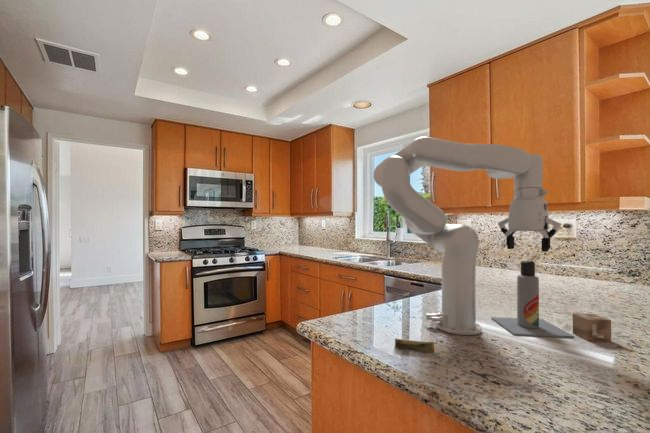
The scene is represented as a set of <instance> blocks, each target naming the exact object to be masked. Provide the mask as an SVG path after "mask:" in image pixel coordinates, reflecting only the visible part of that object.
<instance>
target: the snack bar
mask: <svg viewBox="0 0 650 433" xmlns="http://www.w3.org/2000/svg"><path fill="white" fill-rule="evenodd" d="M394 349H395V350H401V351H403V350H404V351H413V352H423V353H429V354H434V353H435V342H433V341H421V340H419V341H418V340H409V339H401V338H394Z"/></svg>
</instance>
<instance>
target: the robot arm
mask: <svg viewBox="0 0 650 433" xmlns="http://www.w3.org/2000/svg"><path fill="white" fill-rule="evenodd" d="M543 161H544V160H543V156H542V155H540V154H536V153H528V152H527V151H526V150H525V149H522V148H520V147H519V148H518V147H514V146H509V145H504V144H497V143H496V144H495V143H494V144H493V143H492V144H491V143H464V142H463V143H462V142H458V141H452V140H447V139H442V138H435V137H430V136H420V137H417V138H415V139H414V140H412V141H411V142H410V143H409V144H408V145H406V146H405V147H403V148H402V149H401V150H399V151H398V152H397V153H395V154H393V155H391V156H388V157H386V158H385V159H383V160H382V161H381V162H380V163H378V164H377V165H376V167H375V168H374V170H373V179H374V182H375V183H376V184H377V185H378V186H379V187H381V190H382V194H383V197H384V199H385V201H386V202H387V204H388V205H389V206H390V208H391V209H392V210H394V211H395V212H396V213H397V214H398V215H400V216H401V217H402V218H403V219H404V220H405V221H404V222H405V224H406V227H407V229H409V231H410V232H411V233H412V234H413V235H415V236H416V237H418V238H419V239H421V240H422V241H424V242H425V243H426V244H428V245H429V246H431V247H432V248H433V249H435V250H437V251H438V252H439V253H440V252H441V253H443V258H442V261H441V262H442V263H441V309H439V310H438V312H436V313H429V312H427V313H425V319H426V320H427V321H431V322H433V323H435V322H436V327H437V328H438V329H439V330H441V331H443V332H445V333H449V334H454V335H461V336H474V335H475V336H476V335H478V334H480V333H482V332H483V331H482V329H483V328H482V326H481V325H480V324H478V323H477V319H476V316H477V315H476V314H477V313H476V311H477V310H476V308H477V307H476V303H477V300H476V298H477V296H476V288H477V286H476V281H477V280H476V276H477V275H476V269H477V268H476V267H477V255H478V252H479V244H480V241H479V235H478V234H477V232H476V230H475V229H474V228H472V227H471V226H469V225H466V224H462V223H448V220H447V216H446V214H445V211H443V210H442V209H441V207H439V206H437V205H436V204H434V203H432V202H431V201H429V200H428V198H426V197H424V196H423V195H421V194H420V193H419V192H418V191H417V190H415V188H413V186H412V184H411V182H410V178H409V176H410V175H411V174H413V173H415V172H416V171H417V170H419V169H420V168H421V167H422V168H423V167H424V166H426V167H431V168H436V169H442V170H449V171H453V172H470V171H477V170H485V173H486V174H487V175H488V177H490V178H491V179H495V180H503V179H513V199H511V202H510V205H509V211H508V217H507V218H505V219H503V220H501V221H498V223H497V225H498V228H499V229H500V231H501V233H503V234H504V236H505V237H506V239H505V240H506V243H505V244H506V245H505V246H506V247H507V249H508V250H514V249H515V236H514V234H515V233H516V232H517V231H518V232H539V233H540V234H541V236H542V237H541V252H543V253H544V252H545V253H546V252H549V250H550V249H551V239H552V237H554V236H555V235H556V234H557V233H558V231H559V229H560V228H561V226H562V223H561V222H559V221H556V220H554V219H552V218H550V217H549V209H548V203H547V200H546V198H544V196H545V195H548V191H549V190H548V189H544V188H543V175H544V174H543V170H544V169H543V167H544V164H543V163H544V162H543ZM506 225H508V226H507V227H508V228H507V227H506ZM550 225H552V228H551V229H550ZM549 229H550V230H549Z"/></svg>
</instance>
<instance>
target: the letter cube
mask: <svg viewBox="0 0 650 433" xmlns="http://www.w3.org/2000/svg"><path fill="white" fill-rule="evenodd" d="M572 335H573V336H574V335H575V336H577V337H578V338H580V339H582V340H584V341H586V342H596V343H597V342H598V343H612V320H611V319H609V318H606V317H604V316H602V315H598V314H596V313H580V312H579V313H575V312H573V313H572Z"/></svg>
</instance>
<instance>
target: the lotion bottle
mask: <svg viewBox="0 0 650 433" xmlns="http://www.w3.org/2000/svg"><path fill="white" fill-rule="evenodd" d="M516 318H517V324H518V325H519V326H522V327H526V328H538V327H539V319H540V278H539V276H536V263H535V262H534V260H522V261H520V274H518V275H517V276H516Z"/></svg>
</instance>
